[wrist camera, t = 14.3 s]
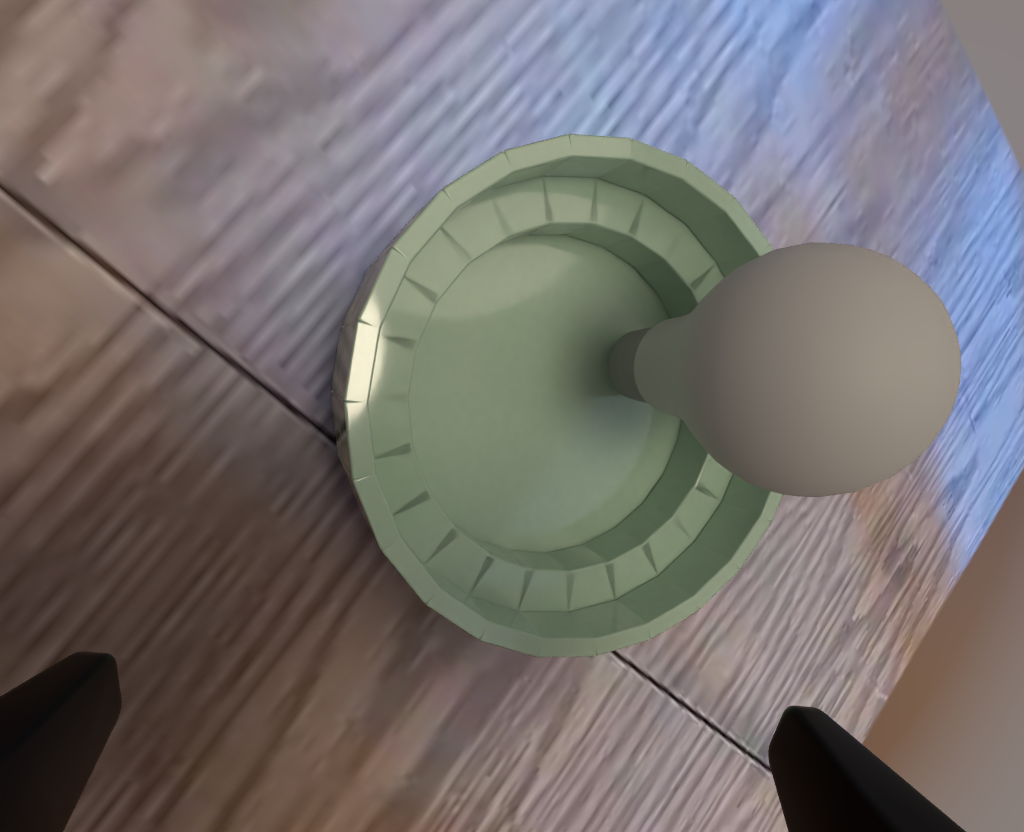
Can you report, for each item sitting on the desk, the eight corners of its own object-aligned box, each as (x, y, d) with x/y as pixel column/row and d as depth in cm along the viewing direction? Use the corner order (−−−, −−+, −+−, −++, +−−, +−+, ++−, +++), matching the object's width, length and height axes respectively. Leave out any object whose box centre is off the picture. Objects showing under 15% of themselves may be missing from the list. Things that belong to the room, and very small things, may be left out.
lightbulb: (595, 476, 22) (876, 587, 11) (523, 330, 20) (778, 309, 10) (714, 394, 23) (1050, 427, 13) (656, 252, 22) (991, 165, 11)
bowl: (564, 669, 23) (627, 740, 19) (223, 433, 17) (205, 459, 13) (772, 371, 25) (870, 375, 21) (529, 83, 20) (595, 11, 16)
